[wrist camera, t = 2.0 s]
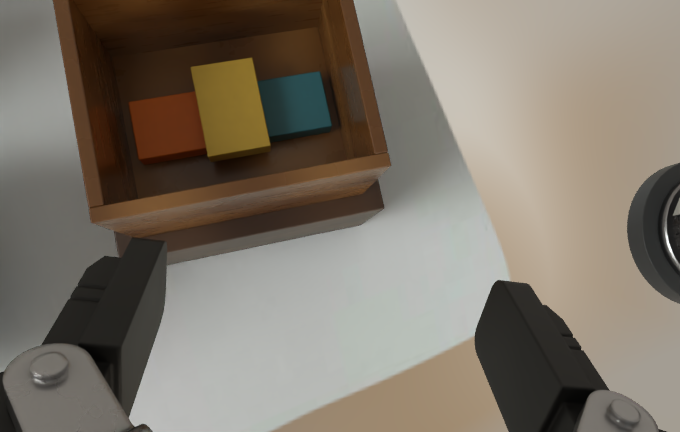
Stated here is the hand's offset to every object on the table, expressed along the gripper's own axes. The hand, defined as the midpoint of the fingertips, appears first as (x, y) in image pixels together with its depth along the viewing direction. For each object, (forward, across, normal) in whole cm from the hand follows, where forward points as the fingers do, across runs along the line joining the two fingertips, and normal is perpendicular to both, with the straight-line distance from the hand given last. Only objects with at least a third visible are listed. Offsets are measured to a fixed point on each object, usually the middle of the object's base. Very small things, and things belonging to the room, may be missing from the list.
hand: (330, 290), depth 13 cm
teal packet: (+17, +1, +1) cm, 17 cm away
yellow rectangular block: (+16, +4, +1) cm, 16 cm away
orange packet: (+16, +6, +3) cm, 18 cm away
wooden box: (+17, +4, +2) cm, 18 cm away
